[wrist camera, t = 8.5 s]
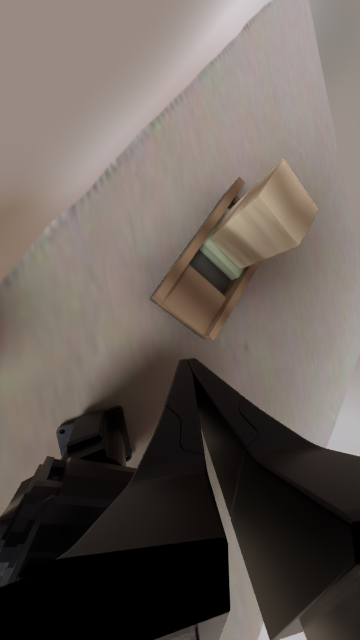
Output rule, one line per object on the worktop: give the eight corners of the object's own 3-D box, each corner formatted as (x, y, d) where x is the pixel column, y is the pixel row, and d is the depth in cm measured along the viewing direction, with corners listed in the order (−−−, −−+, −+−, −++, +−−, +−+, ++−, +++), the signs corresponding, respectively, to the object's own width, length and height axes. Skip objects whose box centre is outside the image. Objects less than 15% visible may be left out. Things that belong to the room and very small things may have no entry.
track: (202, 337, 24) (214, 340, 21) (149, 298, 21) (155, 295, 18) (263, 236, 28) (280, 227, 25) (224, 193, 25) (239, 176, 22)
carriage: (240, 269, 24) (298, 245, 16) (209, 238, 22) (258, 196, 14) (256, 242, 25) (318, 209, 17) (228, 211, 23) (283, 158, 15)
